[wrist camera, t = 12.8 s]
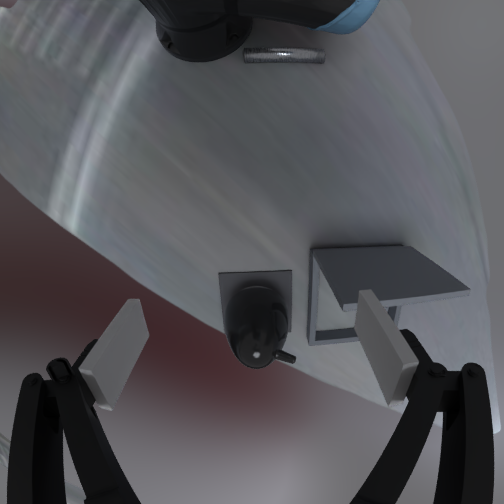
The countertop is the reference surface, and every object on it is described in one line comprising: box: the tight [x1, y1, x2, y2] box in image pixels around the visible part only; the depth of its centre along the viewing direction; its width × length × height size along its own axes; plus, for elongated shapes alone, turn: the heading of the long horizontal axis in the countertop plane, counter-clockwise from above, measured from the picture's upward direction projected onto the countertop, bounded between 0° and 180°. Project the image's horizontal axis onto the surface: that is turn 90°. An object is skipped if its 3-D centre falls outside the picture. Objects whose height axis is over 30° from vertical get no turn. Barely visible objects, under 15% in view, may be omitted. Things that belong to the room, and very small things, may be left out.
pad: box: [219, 270, 292, 334], centre depth 50 cm, size 12×12×1 cm
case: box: [307, 245, 471, 346], centre depth 39 cm, size 18×18×20 cm
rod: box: [244, 48, 325, 63], centre depth 36 cm, size 12×2×2 cm
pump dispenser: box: [224, 286, 296, 369], centre depth 42 cm, size 10×10×15 cm
